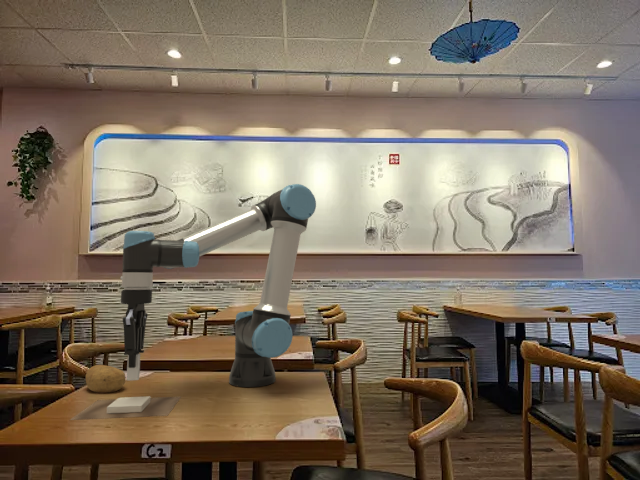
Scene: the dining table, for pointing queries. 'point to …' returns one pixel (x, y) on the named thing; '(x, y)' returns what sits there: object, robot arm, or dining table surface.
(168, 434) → the dining table surface
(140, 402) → the tile
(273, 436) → the dining table surface
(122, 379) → the potato
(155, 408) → the board
